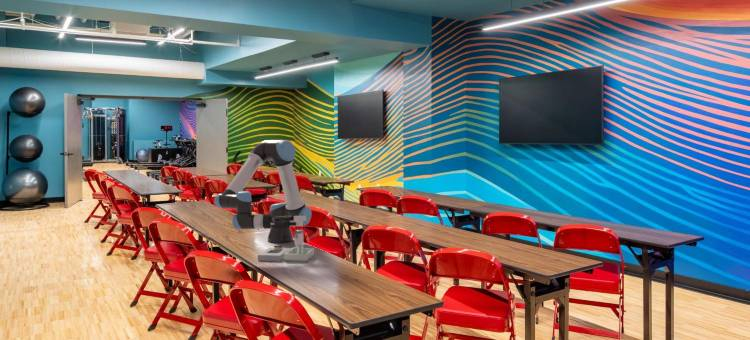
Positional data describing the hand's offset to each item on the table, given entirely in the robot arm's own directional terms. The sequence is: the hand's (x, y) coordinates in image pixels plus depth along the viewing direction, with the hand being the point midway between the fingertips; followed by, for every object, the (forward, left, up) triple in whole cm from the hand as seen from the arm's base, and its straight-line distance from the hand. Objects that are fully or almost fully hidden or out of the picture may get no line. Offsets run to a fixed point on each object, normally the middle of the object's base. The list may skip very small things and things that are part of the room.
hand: (304, 220), depth 254 cm
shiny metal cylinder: (0, -3, -19) cm, 19 cm away
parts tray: (0, -3, -20) cm, 20 cm away
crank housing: (-1, -17, -20) cm, 26 cm away
